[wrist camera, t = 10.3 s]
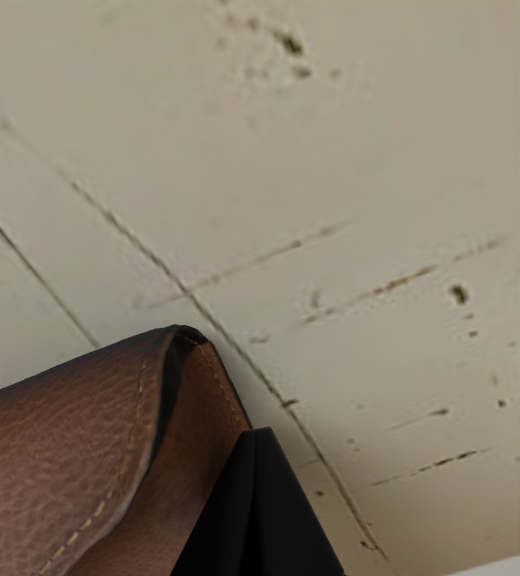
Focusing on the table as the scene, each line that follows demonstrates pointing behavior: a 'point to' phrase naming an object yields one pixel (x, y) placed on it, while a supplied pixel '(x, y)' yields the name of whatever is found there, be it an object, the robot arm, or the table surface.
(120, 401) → the sunglasses case
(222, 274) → the table surface
